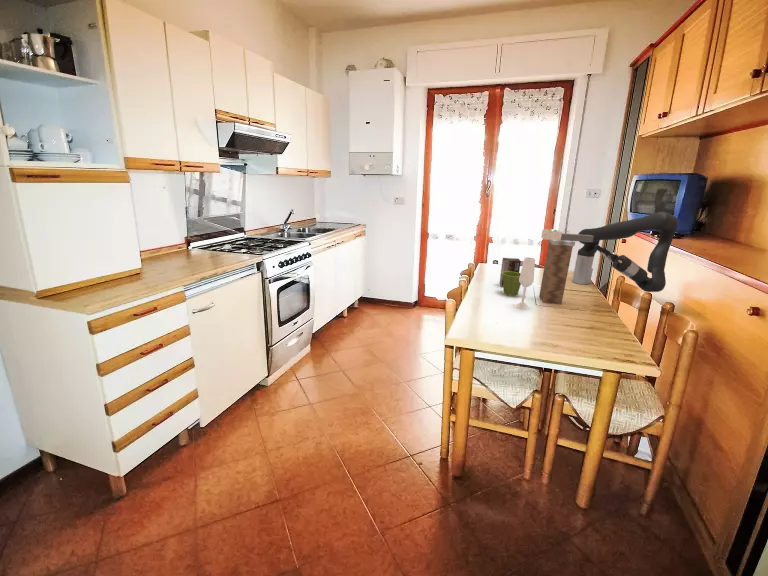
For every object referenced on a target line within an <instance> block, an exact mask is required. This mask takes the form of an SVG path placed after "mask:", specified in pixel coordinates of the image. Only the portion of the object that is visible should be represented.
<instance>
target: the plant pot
mask: <svg viewBox="0 0 768 576" xmlns="http://www.w3.org/2000/svg"><path fill="white" fill-rule="evenodd" d="M502 274H503V287H502V288H503V294H504V295H506V296H512V297H513V296H515V297H516V296H517V295H518V294H519V290H520V288H521V286H522V285H521V284H520V282H519V277H520V274H521V272H519V273H518V272H511V271H505V272H502Z"/></svg>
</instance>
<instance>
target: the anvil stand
mask: <svg viewBox="0 0 768 576" xmlns="http://www.w3.org/2000/svg"><path fill="white" fill-rule="evenodd" d="M547 242H548V244H547V251H546V255H545V261H544V266H543V274H542V277H541V278H542V279H541V284H540V289H539V290H540V291H539V295H538V298H539V299H540V301H541V300H542V301H541V302H542V303H543V304H544V303H545V304H553V303H554V304H555V305H562V303H563V298H564V293H565V288H566V284H567V278H568V275H569V274H568V273H569V268H570V263H571V258H572V253H573V247H575V245H576V241H566V240H548V239H547Z"/></svg>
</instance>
